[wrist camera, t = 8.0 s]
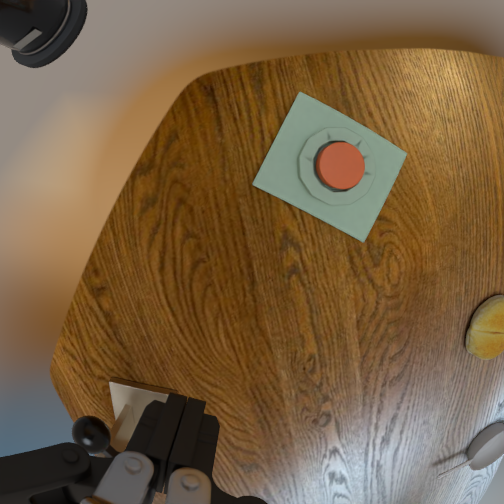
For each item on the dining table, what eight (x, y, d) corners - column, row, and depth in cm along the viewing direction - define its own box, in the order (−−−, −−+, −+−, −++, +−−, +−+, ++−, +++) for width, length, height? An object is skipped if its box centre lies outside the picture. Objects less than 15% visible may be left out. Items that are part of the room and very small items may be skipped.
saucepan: (499, 445, 40) (507, 456, 36) (426, 479, 41) (432, 493, 38) (513, 409, 38) (523, 420, 34) (435, 447, 39) (443, 461, 35)
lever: (72, 404, 22) (60, 438, 19) (108, 415, 22) (97, 452, 19) (116, 450, 31) (109, 475, 28) (143, 458, 31) (137, 483, 28)
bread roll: (515, 296, 33) (532, 306, 29) (491, 353, 35) (506, 366, 31) (479, 287, 33) (497, 298, 29) (454, 350, 35) (468, 365, 31)
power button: (307, 175, 27) (311, 174, 25) (327, 135, 26) (331, 133, 25) (347, 196, 27) (352, 197, 26) (366, 157, 27) (372, 156, 25)
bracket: (112, 376, 37) (73, 433, 25) (177, 390, 37) (151, 456, 25) (121, 432, 39) (93, 487, 28) (179, 445, 39) (160, 506, 28)
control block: (252, 184, 31) (251, 185, 27) (297, 96, 29) (301, 86, 25) (357, 238, 32) (369, 246, 28) (398, 154, 30) (415, 152, 26)
